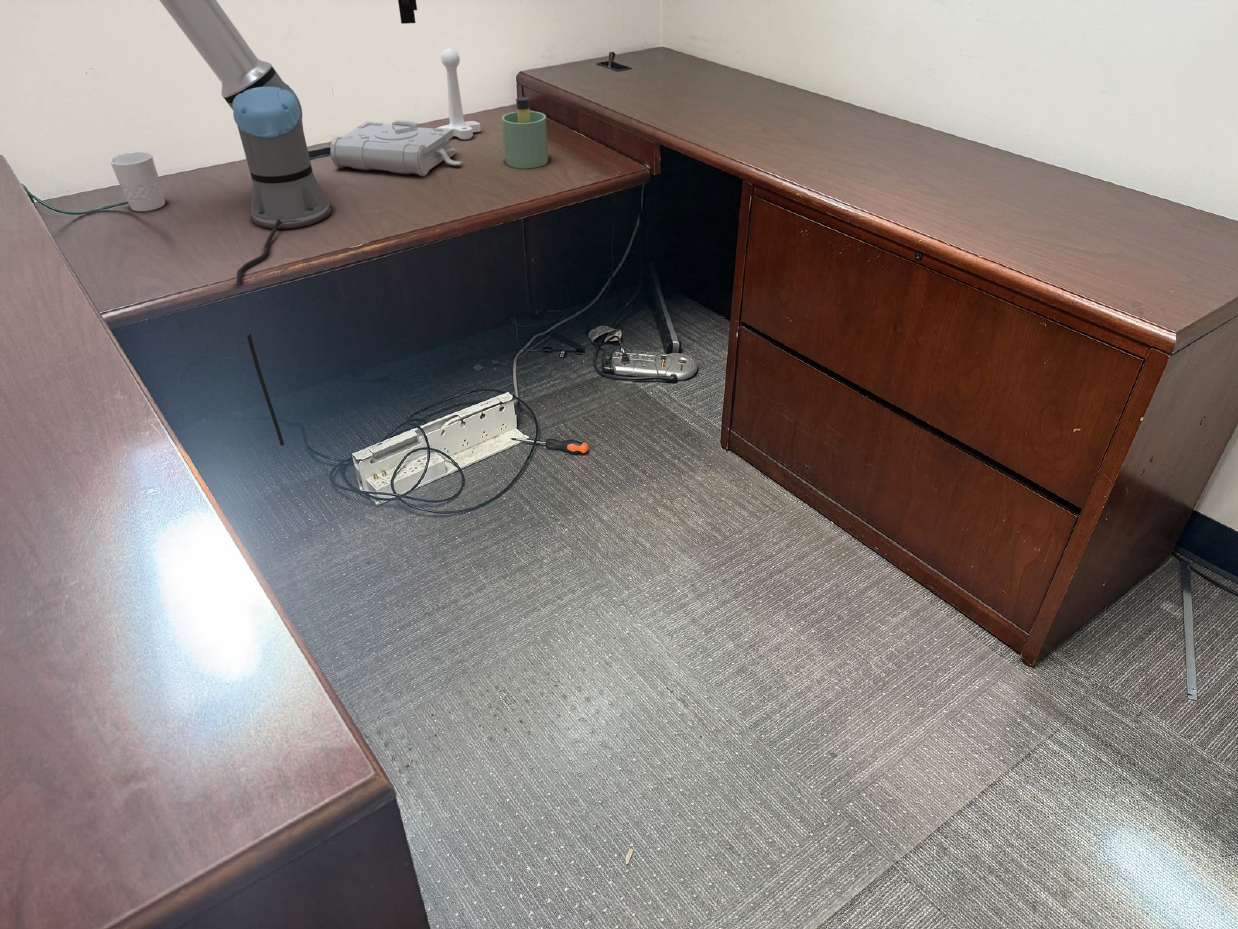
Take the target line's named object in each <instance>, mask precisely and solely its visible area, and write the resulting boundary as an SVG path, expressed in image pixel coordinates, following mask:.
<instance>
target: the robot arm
mask: <svg viewBox="0 0 1238 929" xmlns="http://www.w3.org/2000/svg"><path fill="white" fill-rule="evenodd" d="M159 2H160V3H161V5H162V6H163V7H164V9H165V10H166V11H167V13H168V14H169V15H170V16H171V18H172V19H173V20H174V22H175V24H176V25H177V26H178V27H179V28H180V30H181V32H182V33H183V34H184V35H185V36H186V38H187V39H188V40H189V42H190V43H191V45H193V48H195V49H196V51H197V52H198V53H199V56H200V57H202V59H203V61H205V63H206V64H207V65H208V67H209V68H210V70H211V71H212V72H213V73H214V74H215V76H216V77H217V79H218V80H219V82H220V83H221V97H222V98H223V99H224V101H225V102H226V103H227V105H228V106H229V107H230V109H231V110H232V115H233V119H234V120H233V121H234V123H235V124H236V127H237V129H238V133H239V134H238V135H239V136H240V140H241V144H242V147H243V148H242V149H243V151H244V155H245V160H246V162H247V167H248V171H249V174H250V177H251V181H252V184H251V185H252V186H251V187H252V188H251V202H250V203H251V204H250V213H251V214H250V215H251V216H252V220H253V223H254V224H256V225H257V226H259V227H262V228H265V229H270V230H271V232H270V233H269V235H268V237H267V239H266V241H265V244H264V251H263V253H261V255H259V256H257V257H256V258H253V259H251V260H249V261H247V262H246V263H244V264H243V265H242V266H241V267H240V268H239V269H238V270H237V272H236V286H238V287H239V286H242V273H243V272H244V271H245V270H246V269H248V268H249V267H250V266H253V265H255V264H257V263H259V262H260V261H262V260H263V259H265V258H266V257H267V256H268V254H269V247H270V244H271V242H272V240H273V238H274V236H275V235H276V232H277V230H292V229H299V228H304V227H308V226H311V225H314V224H317V223H319V222H321V221H324V220H325V219H326V218H328V217H329V216H330V214H331V211H332V209H331V203H330V201H329V199H328V197H327V195H326V193H325V192H324V190H323V188H322V186H321V184H320V183H319V181H318V180H317V178H316V176H315V174H314V171H313V167H312V162H311V158H310V153H309V150H308V145H307V141H306V136H305V132H304V123H303V109H302V105H301V102H300V99H299V97H298V95H297V94H296V93H295V91H294V89H293V88H291V87H290V86H289V85H288V84H287V83H285V81H283V79H282V78H281V76H280V75H279V74H278V72H277V70H276V69H275V68H274V66H273V65H272V64H271V62H268V61H264V60H261V59H260V58H258V57H257V55H256V54H255V52H254V51H253V50H252V48H251V47H250V46H249V44H248V43H247V42H246V40H245V39H244V37H243V36H242V34H241V32H240V31H239V30H238V29H237V27H236V26H235V25H234V23H233V21H232V19H231V18H229V16H228V15H227V13H226V12H225V10H224V9H223V8H222V6H221V4H219V2H218V1H217V0H159ZM397 4H398V10H399V16H400V23H401V24H403V25H405V24H406V25H407V24H416V23H417V22H416V16H415V11H418V5H417V0H397ZM246 338H247V341H248V345H249V349H250V354H251V356H252V360H253V363H254V367H255V370H256V372H257V378H258V380H259V383H260V386H261V389H262V393H263V394H264V398H265V401H266V403H267V406H268V410H269V412H270V413H269V414H270V416H271V418H272V422H273V425H274V428H275V432H276V435H277V438H278V441H279V445H280V446H282V447H283V446H285V443H284V442H285V441H284V439H283V435H282V433H281V429H280V426H279V423H278V419H277V416H276V414H275V410H274V407H273V403H272V401H271V398H270V395H269V392H268V390H267V386H266V383H265V379H264V376H263V374H262V371H261V367H260V363H259V360H258V356H257V352H256V349H255V346H254V342H253V337H252V334H251V333H249V334H248V335H247V336H246Z"/></svg>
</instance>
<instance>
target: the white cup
mask: <svg viewBox="0 0 1238 929" xmlns="http://www.w3.org/2000/svg"><path fill="white" fill-rule="evenodd" d="M109 163H110V165H111V168H112V170H113V173H114V175H115V177H116V179H117V181H118V184H119V186H120V189H121V191H122V193H123V196H124V197H125V198H126V202H127V204H128V207H129V208H130V209H131V210H132V211H135V212H150V211H155V210H159V209H161V208H162V207H164V206H165V204H166V200H165V197H164V194H163V188H162V185H161V181H160V177H159V174H158V170H157V167H156V164H155V160H154V156H153V154H152V153H150V152H147V151H132V152H125V153H121V154H118V155H115V156H113V157H111V158H110V159H109Z"/></svg>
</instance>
